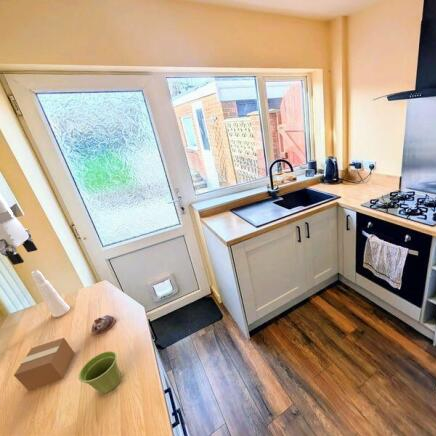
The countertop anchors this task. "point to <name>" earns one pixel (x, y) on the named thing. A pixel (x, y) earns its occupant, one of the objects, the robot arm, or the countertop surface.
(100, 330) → the pastry
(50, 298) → the cosmetic bottle
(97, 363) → the plant pot
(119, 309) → the countertop surface
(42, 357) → the box
